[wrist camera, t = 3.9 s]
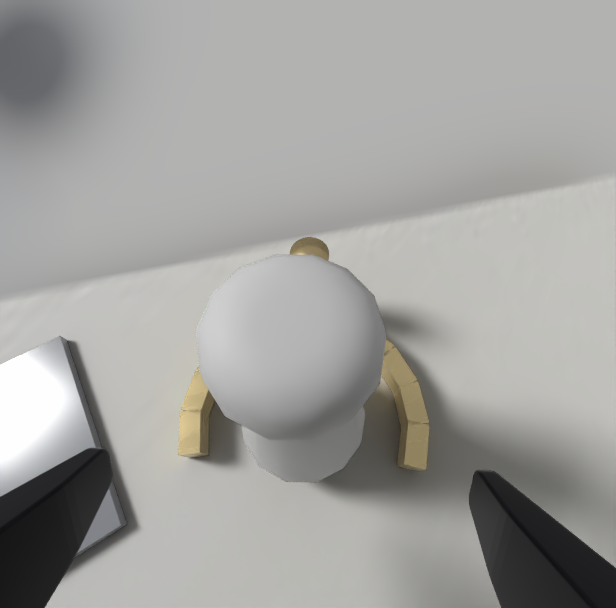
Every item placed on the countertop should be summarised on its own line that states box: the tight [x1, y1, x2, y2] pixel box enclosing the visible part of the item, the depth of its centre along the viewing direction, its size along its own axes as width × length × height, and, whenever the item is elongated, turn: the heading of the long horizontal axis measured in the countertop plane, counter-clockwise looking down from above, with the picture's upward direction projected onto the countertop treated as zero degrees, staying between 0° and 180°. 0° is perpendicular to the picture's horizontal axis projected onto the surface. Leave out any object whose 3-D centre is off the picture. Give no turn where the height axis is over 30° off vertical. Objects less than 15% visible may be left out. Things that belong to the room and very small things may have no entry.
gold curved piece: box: [178, 237, 430, 471], centre depth 18 cm, size 10×12×6 cm
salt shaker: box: [196, 255, 386, 482], centre depth 13 cm, size 6×6×13 cm
